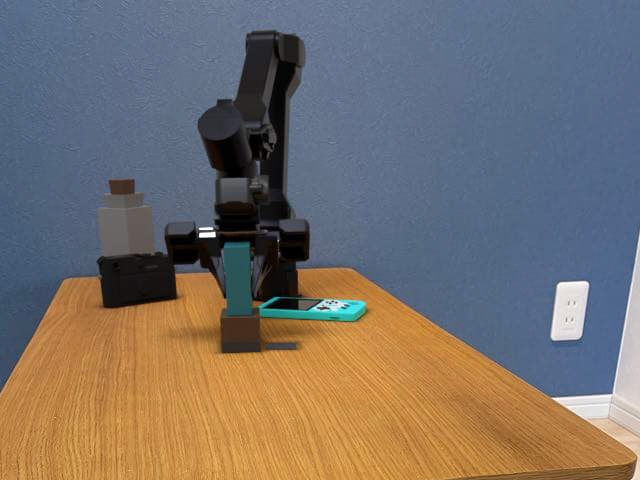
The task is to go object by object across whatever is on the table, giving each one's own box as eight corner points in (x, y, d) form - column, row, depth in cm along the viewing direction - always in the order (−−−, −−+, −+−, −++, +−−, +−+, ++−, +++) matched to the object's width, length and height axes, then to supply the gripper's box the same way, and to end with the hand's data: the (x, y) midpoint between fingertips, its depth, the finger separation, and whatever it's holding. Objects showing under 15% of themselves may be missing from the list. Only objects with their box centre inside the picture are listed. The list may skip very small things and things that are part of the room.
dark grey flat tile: (265, 349, 112) (265, 349, 112) (267, 342, 115) (267, 342, 115) (296, 349, 112) (296, 348, 112) (296, 342, 115) (296, 342, 115)
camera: (165, 292, 150) (161, 244, 146) (184, 298, 145) (180, 249, 141) (88, 303, 143) (82, 253, 139) (105, 309, 138) (99, 258, 134)
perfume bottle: (158, 283, 158) (148, 178, 150) (133, 289, 153) (122, 181, 145) (130, 280, 162) (120, 178, 154) (105, 286, 157) (93, 180, 149)
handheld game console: (354, 321, 126) (354, 312, 125) (252, 316, 130) (252, 307, 130) (370, 308, 134) (370, 299, 133) (274, 304, 139) (274, 295, 138)
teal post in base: (224, 341, 116) (218, 241, 110) (260, 340, 116) (257, 240, 110) (221, 352, 111) (215, 248, 105) (260, 351, 111) (256, 247, 105)
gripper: (159, 153, 107) (156, 259, 102) (308, 150, 107) (312, 255, 102) (171, 214, 117) (169, 312, 112) (306, 210, 117) (311, 308, 112)
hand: (238, 296), depth 109 cm, fingers closed on teal post in base, 3 cm apart
